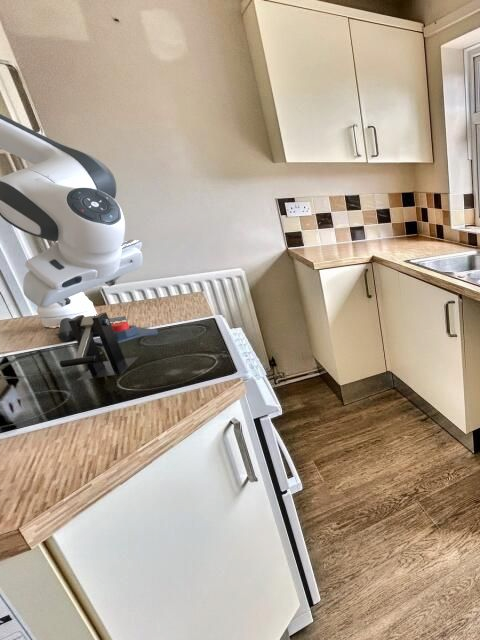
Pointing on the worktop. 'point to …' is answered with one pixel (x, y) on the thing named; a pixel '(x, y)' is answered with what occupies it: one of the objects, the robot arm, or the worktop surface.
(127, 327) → the button
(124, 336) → the button box
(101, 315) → the bracket
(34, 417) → the worktop surface
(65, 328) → the door handle
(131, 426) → the worktop surface
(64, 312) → the honey pot
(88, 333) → the lever
